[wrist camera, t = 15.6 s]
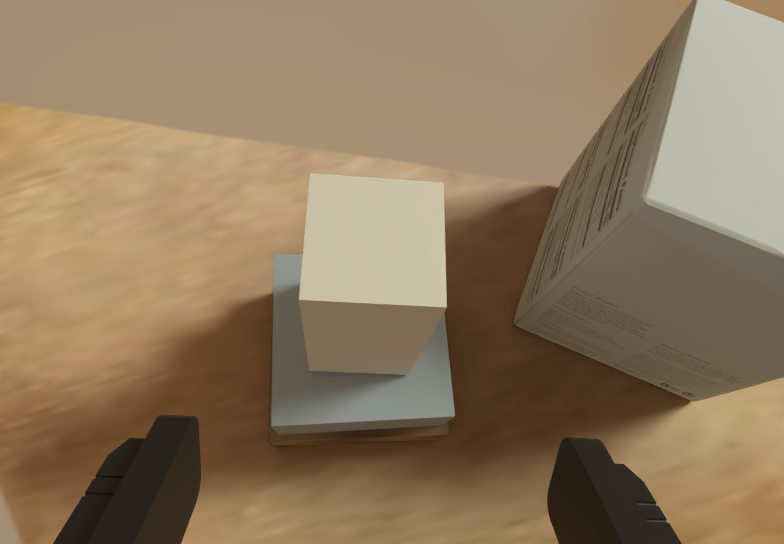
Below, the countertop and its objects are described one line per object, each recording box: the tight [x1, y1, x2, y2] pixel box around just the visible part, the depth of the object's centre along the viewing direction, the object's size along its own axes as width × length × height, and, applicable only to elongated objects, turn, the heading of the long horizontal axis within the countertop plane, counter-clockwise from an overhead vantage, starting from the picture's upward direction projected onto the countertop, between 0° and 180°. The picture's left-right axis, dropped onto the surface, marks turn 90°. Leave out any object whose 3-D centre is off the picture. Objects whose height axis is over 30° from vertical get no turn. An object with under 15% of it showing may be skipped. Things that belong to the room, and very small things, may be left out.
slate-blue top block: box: [271, 254, 455, 435], centre depth 31 cm, size 9×9×4 cm
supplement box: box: [513, 0, 784, 401], centre depth 32 cm, size 13×13×18 cm
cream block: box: [299, 173, 447, 375], centre depth 24 cm, size 5×5×10 cm
